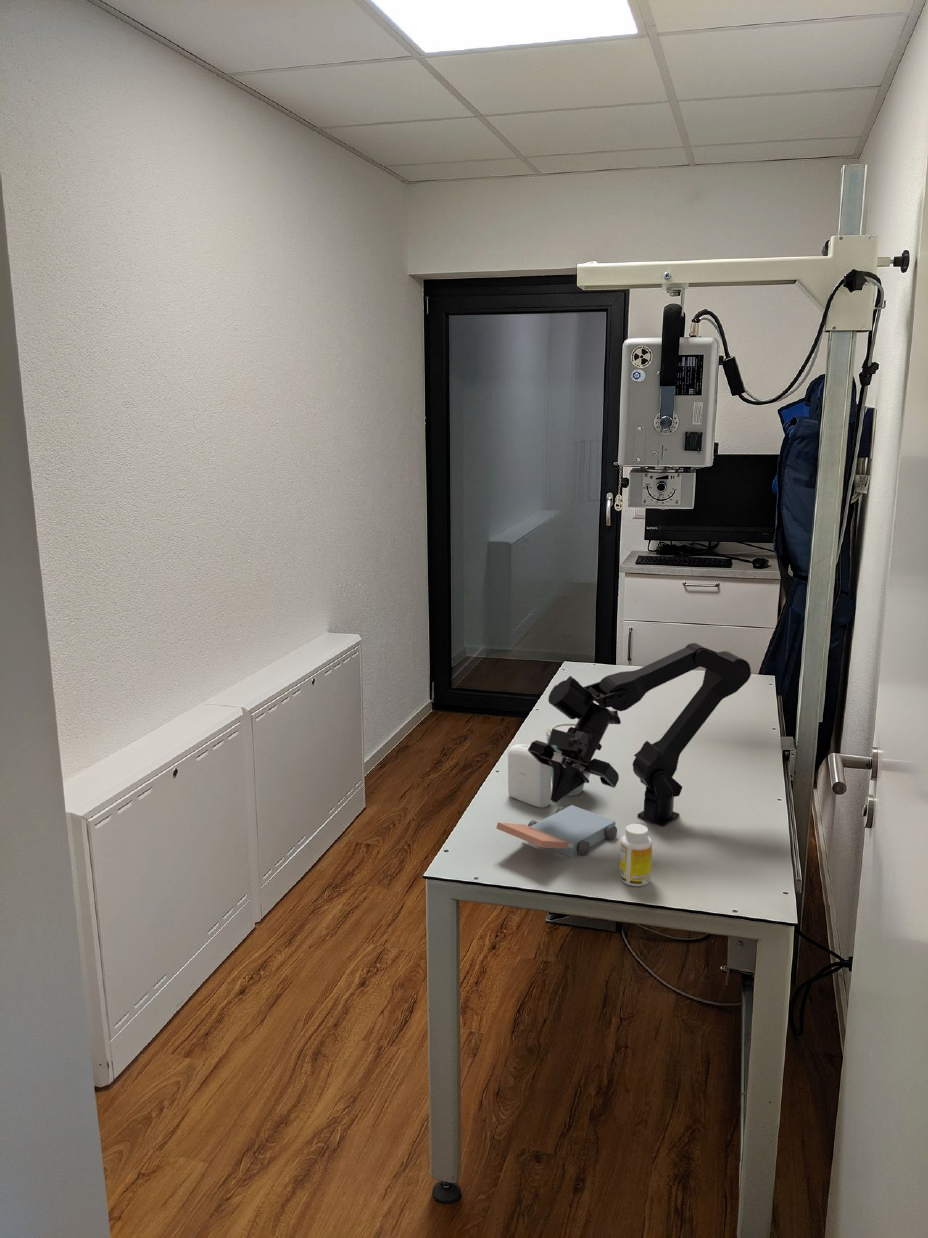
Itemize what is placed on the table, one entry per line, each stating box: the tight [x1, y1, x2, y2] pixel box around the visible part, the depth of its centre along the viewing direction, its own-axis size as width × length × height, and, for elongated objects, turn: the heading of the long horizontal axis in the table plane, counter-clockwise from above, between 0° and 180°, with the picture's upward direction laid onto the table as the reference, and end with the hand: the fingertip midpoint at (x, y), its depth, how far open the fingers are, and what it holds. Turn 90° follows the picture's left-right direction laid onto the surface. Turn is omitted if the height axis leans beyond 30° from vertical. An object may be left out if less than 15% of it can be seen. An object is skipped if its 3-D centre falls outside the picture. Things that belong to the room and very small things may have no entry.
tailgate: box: [496, 821, 574, 849], centre depth 181 cm, size 1×12×10 cm
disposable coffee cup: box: [545, 721, 585, 797], centre depth 210 cm, size 11×11×15 cm
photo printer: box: [507, 743, 552, 808], centre depth 205 cm, size 10×4×12 cm, turn 45°
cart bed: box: [527, 804, 618, 858], centre depth 190 cm, size 14×14×3 cm
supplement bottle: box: [619, 823, 653, 887], centre depth 172 cm, size 6×6×10 cm
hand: (553, 801), depth 183 cm, fingers closed
